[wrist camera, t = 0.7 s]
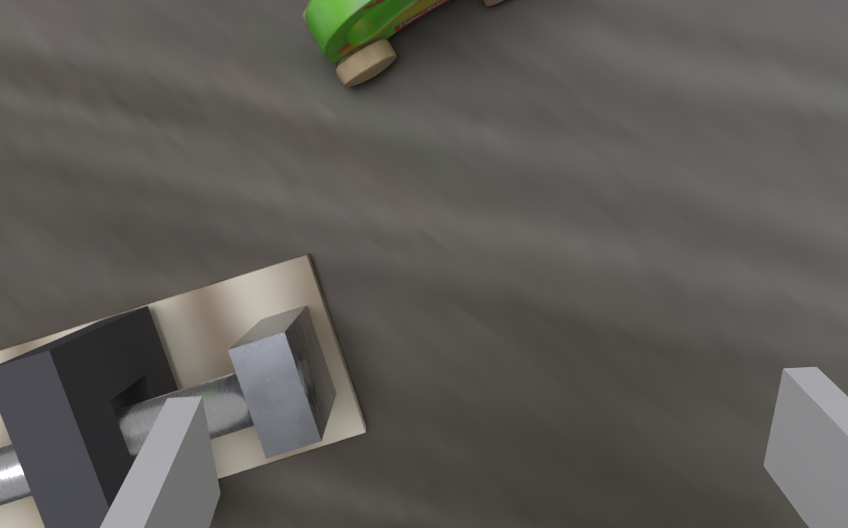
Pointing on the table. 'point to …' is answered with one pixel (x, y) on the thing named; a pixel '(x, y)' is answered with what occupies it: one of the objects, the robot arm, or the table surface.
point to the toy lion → (362, 32)
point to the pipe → (238, 396)
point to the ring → (81, 413)
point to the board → (226, 357)
